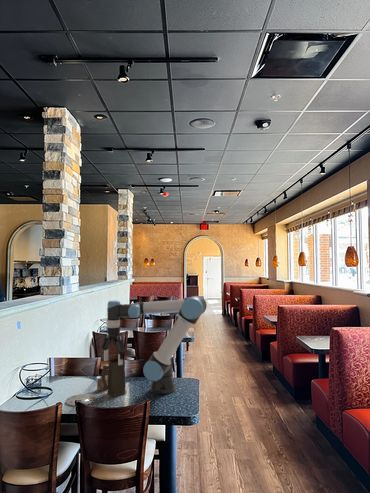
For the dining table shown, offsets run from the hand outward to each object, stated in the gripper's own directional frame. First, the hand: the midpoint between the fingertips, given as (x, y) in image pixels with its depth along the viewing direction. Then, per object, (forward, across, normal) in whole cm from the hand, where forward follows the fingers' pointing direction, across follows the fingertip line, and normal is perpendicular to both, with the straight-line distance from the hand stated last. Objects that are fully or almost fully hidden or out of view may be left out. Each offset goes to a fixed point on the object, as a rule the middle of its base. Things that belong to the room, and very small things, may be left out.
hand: (113, 362), depth 226 cm
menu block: (+18, +12, -3) cm, 22 cm away
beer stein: (+19, 0, 0) cm, 19 cm away
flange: (+18, +5, +19) cm, 27 cm away
